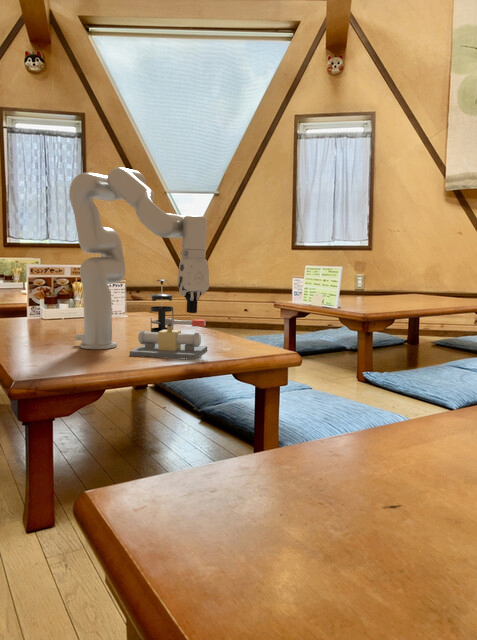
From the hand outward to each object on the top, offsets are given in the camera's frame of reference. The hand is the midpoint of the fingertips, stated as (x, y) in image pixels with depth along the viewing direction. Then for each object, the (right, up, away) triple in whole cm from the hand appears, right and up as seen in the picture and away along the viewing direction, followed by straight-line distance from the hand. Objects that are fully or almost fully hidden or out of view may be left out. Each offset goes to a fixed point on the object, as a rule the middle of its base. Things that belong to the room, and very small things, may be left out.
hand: (191, 312), depth 169 cm
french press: (-16, -9, +42) cm, 46 cm away
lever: (-3, -4, +7) cm, 9 cm away
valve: (-8, -14, +9) cm, 18 cm away
